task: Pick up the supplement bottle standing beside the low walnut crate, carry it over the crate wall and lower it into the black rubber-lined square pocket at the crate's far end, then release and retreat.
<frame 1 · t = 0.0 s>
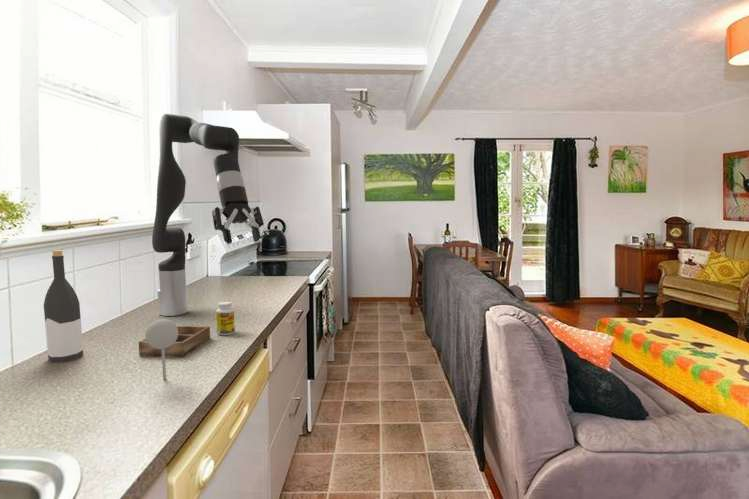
hand: (243, 242, 123), 31 cm above the countertop, tool tilted 20°, fingers open, 8 cm apart
lollipop: (164, 380, 105), on the countertop
supplement bottle: (226, 334, 141), on the countertop
wine bottle: (66, 358, 120), on the countertop
walnut crate: (176, 346, 128), on the countertop
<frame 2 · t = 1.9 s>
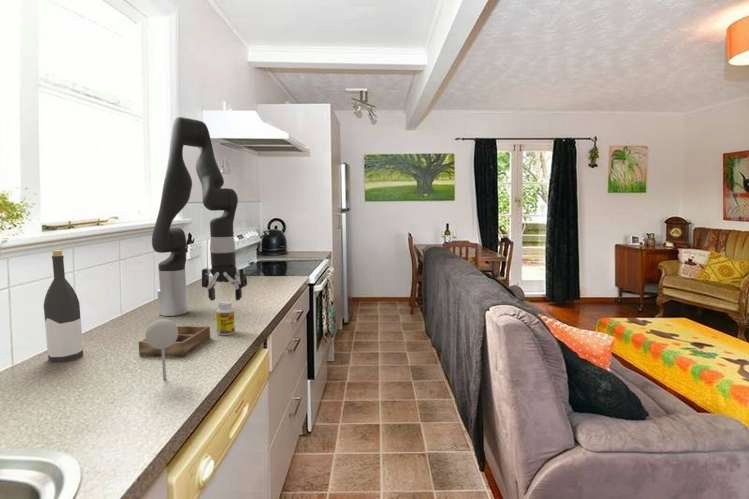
hand: (225, 300, 140), 11 cm above the countertop, tool pointing down, fingers open, 8 cm apart
nothing on the countertop moved.
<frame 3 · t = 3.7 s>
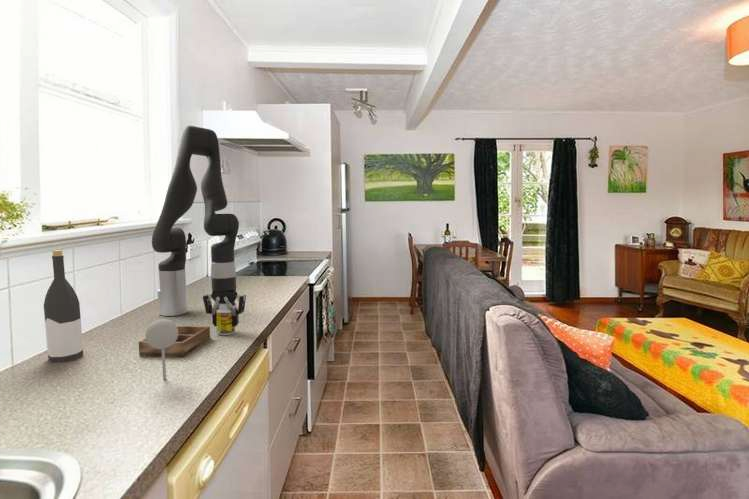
hand: (225, 325, 141), 3 cm above the countertop, tool pointing down, fingers closed on supplement bottle, 5 cm apart
supplement bottle: (226, 333, 141), on the countertop, touching gripper
everything else where it was.
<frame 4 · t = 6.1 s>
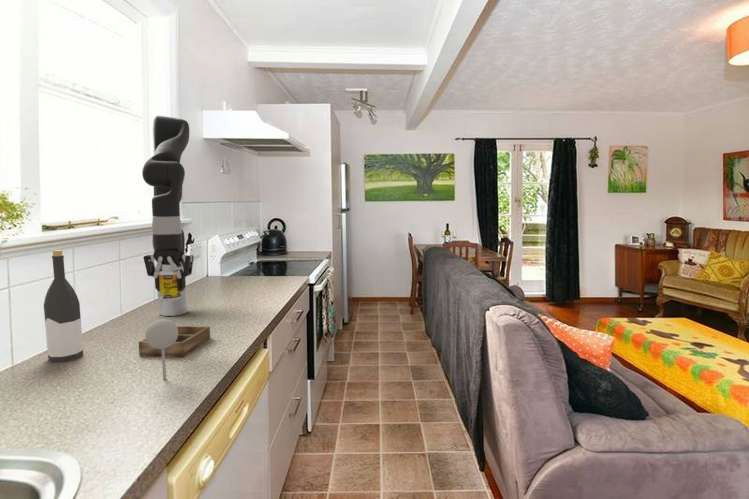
hand: (170, 290, 124), 18 cm above the countertop, tool pointing down, fingers closed on supplement bottle, 5 cm apart
supplement bottle: (171, 299, 124), point 15 cm above the countertop, touching gripper
everything else where it was.
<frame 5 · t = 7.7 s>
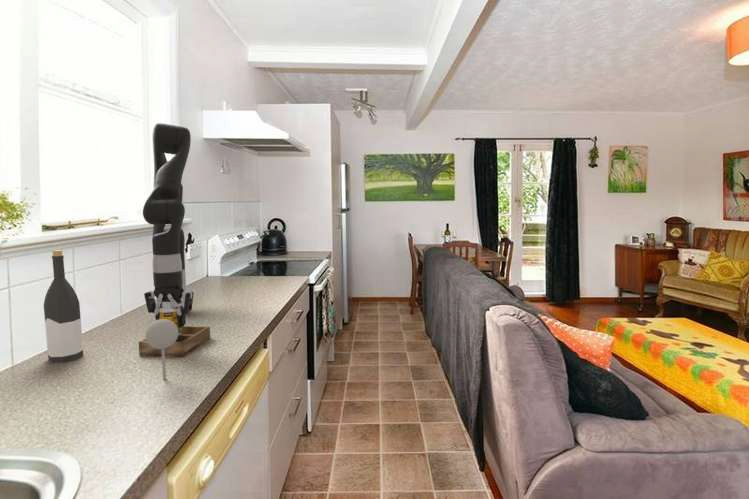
hand: (170, 326, 125), 7 cm above the countertop, tool pointing down, fingers closed on supplement bottle, 5 cm apart
supplement bottle: (171, 335, 125), point 4 cm above the countertop, touching gripper
everything else where it was.
when the fingers open (5 cm above the countertop, at t = 9.0 s): supplement bottle drops 1 cm, resting on walnut crate.
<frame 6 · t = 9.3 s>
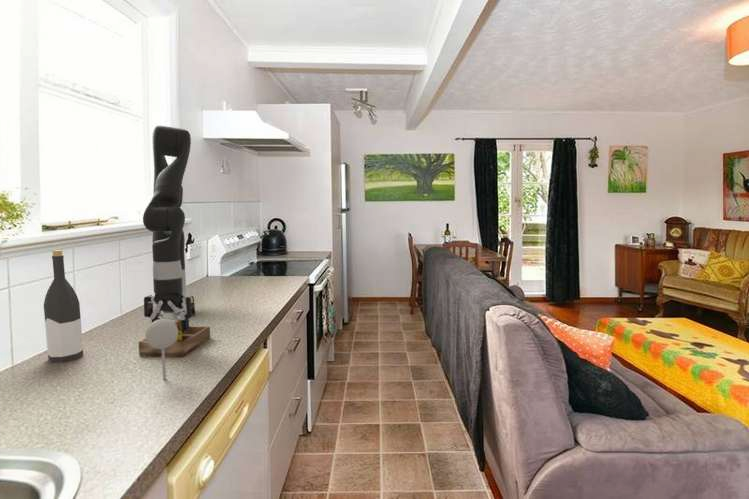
hand: (170, 331, 125), 6 cm above the countertop, tool pointing down, fingers open, 8 cm apart
supplement bottle: (172, 346, 125), point 1 cm above the countertop, touching walnut crate
everything else where it was.
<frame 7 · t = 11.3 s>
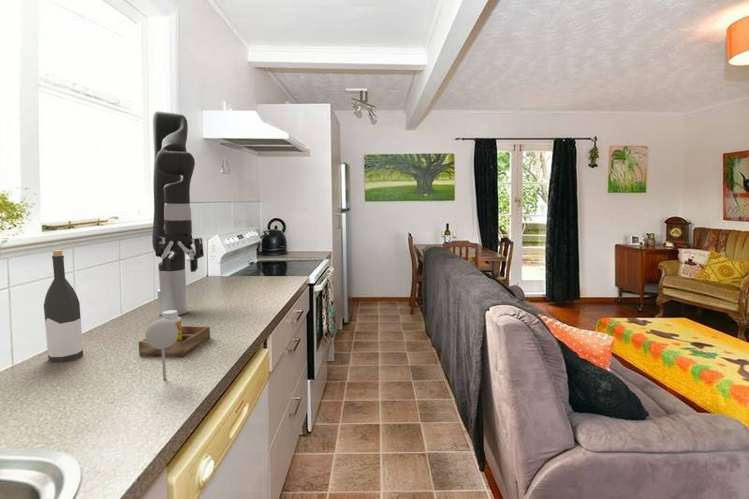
hand: (180, 271, 132), 22 cm above the countertop, tool pointing down, fingers open, 8 cm apart
nothing on the countertop moved.
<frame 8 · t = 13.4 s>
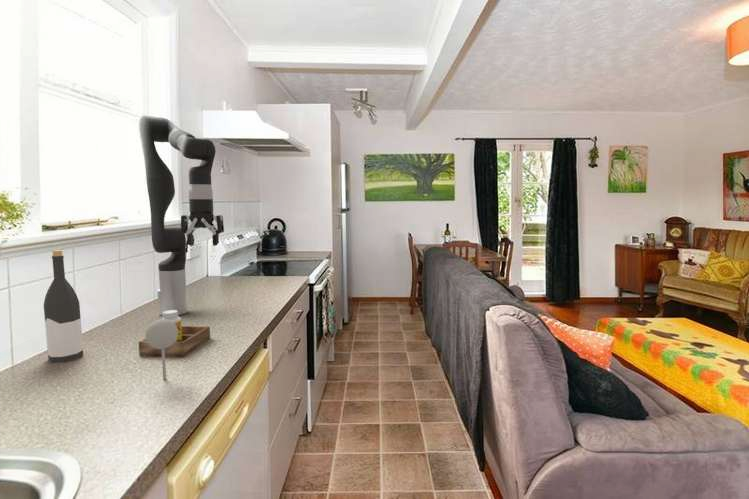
hand: (203, 245, 148), 28 cm above the countertop, tool pointing down, fingers open, 8 cm apart
nothing on the countertop moved.
at the end: supplement bottle 0.1 cm from the target spot on the walnut crate, point 1.0 cm above the walnut crate's base; supplement bottle tilted 0°; the gripper is holding nothing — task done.
